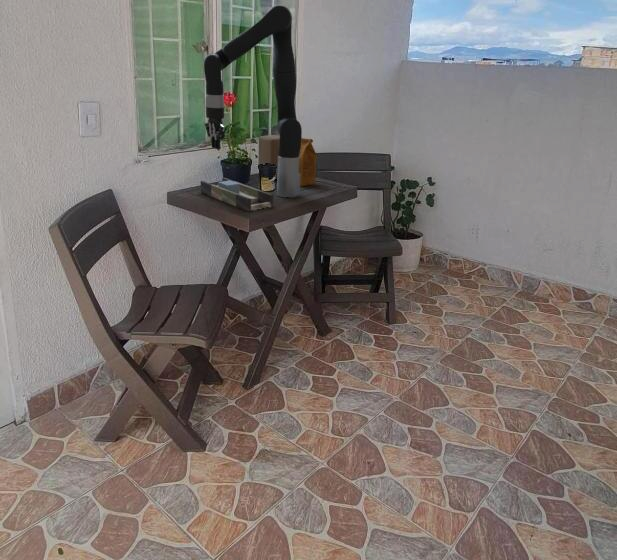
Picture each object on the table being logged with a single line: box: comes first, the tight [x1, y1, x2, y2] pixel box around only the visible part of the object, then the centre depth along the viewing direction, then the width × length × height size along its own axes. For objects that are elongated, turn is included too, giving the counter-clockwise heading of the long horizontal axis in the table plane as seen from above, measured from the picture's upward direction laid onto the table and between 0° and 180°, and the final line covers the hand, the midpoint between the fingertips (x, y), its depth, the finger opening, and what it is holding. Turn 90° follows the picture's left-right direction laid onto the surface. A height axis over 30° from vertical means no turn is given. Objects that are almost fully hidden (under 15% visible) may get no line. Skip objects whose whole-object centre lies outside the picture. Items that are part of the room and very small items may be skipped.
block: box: [257, 134, 280, 179], centre depth 271 cm, size 10×10×20 cm
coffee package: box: [299, 137, 317, 187], centre depth 262 cm, size 10×12×22 cm
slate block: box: [217, 179, 240, 193], centre depth 237 cm, size 6×7×4 cm
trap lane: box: [200, 177, 274, 212], centre depth 234 cm, size 12×35×5 cm, turn 42°
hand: (215, 148), depth 237 cm, fingers closed
